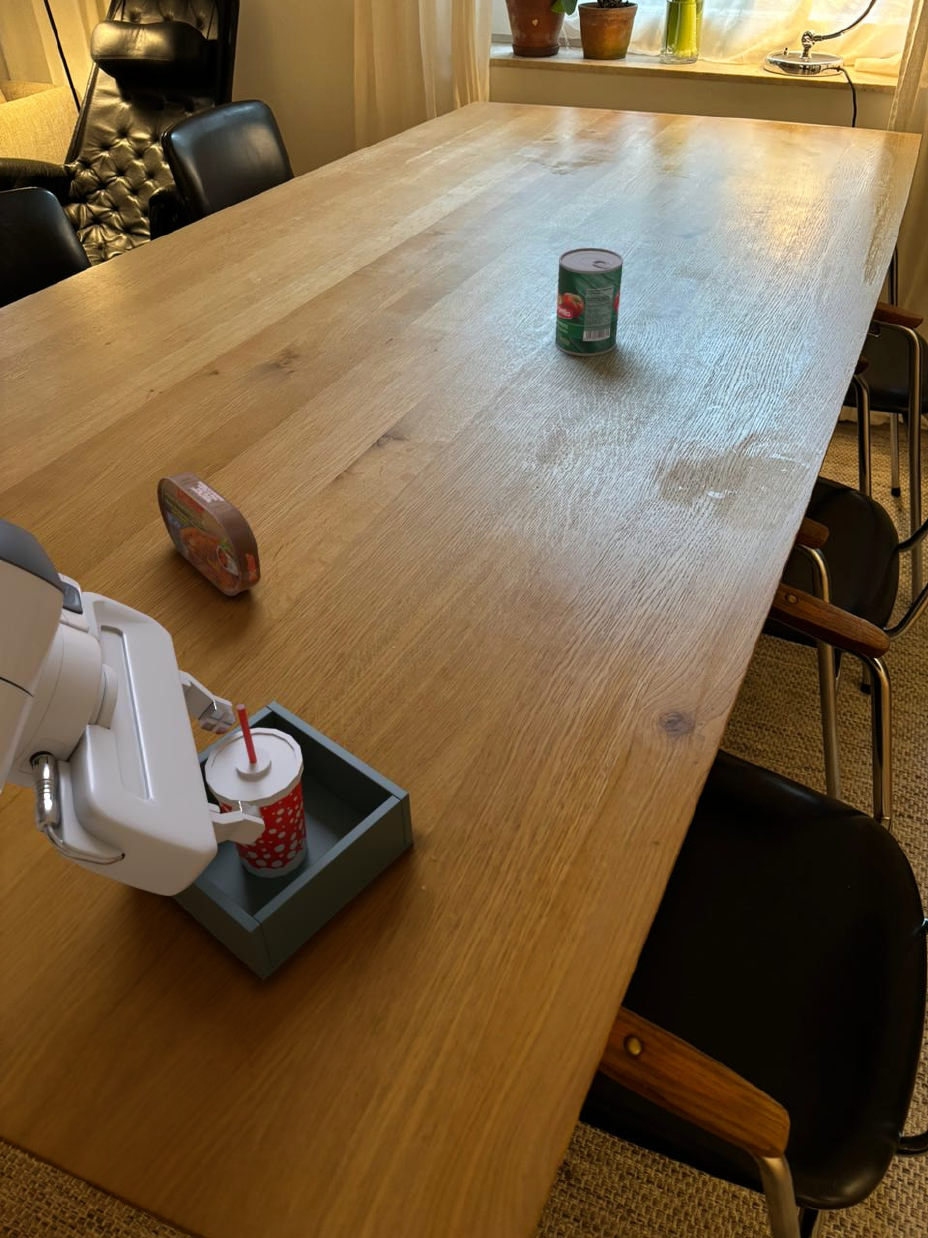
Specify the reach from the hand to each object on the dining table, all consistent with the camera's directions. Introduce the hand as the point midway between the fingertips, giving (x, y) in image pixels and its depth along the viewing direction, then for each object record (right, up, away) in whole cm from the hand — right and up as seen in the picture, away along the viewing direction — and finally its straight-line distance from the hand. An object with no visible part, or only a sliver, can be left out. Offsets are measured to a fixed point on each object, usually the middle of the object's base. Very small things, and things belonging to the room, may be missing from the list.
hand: (242, 770), depth 62 cm
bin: (+1, -7, +7) cm, 9 cm away
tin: (-10, +14, +32) cm, 36 cm away
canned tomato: (+30, +45, +67) cm, 86 cm away
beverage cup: (+1, -7, +7) cm, 9 cm away
